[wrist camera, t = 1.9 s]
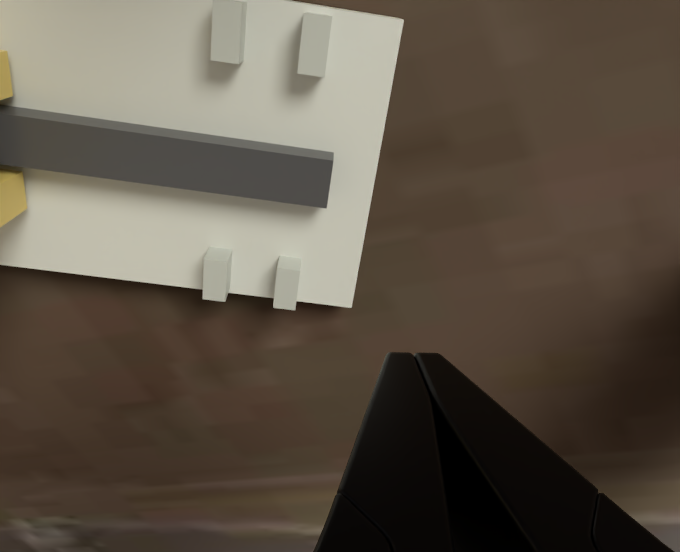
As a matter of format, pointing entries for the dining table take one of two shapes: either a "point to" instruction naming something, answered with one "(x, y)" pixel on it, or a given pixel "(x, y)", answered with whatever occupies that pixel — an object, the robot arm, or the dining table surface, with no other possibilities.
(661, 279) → the dining table surface
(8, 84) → the yellow sliding block
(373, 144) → the white slide rail base
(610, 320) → the dining table surface
